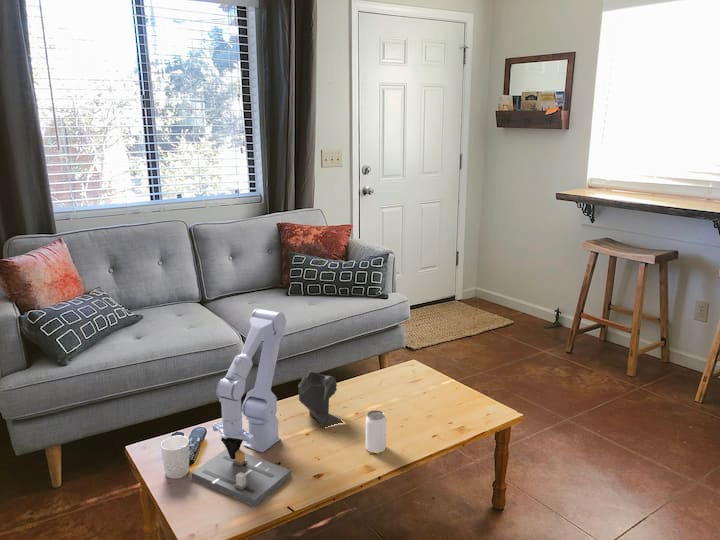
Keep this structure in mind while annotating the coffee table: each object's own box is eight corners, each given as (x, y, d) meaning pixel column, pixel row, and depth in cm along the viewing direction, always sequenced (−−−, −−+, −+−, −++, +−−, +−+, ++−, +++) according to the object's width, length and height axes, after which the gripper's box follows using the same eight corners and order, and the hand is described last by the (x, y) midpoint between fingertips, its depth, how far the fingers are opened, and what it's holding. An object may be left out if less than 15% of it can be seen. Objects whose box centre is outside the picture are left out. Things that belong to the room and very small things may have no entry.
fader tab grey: (240, 481, 167) (240, 470, 167) (248, 484, 166) (248, 473, 165) (233, 486, 165) (233, 475, 164) (242, 490, 164) (241, 479, 163)
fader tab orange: (239, 458, 178) (239, 448, 178) (247, 461, 177) (246, 451, 176) (233, 462, 176) (232, 452, 175) (241, 466, 175) (240, 455, 174)
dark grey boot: (332, 404, 217) (331, 358, 212) (346, 424, 203) (346, 376, 198) (294, 410, 212) (293, 364, 207) (306, 431, 198) (305, 382, 193)
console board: (229, 452, 186) (229, 446, 185) (290, 476, 174) (290, 470, 173) (190, 479, 172) (190, 473, 172) (253, 507, 160) (253, 500, 160)
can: (387, 444, 191) (388, 411, 188) (383, 455, 185) (383, 421, 182) (368, 441, 192) (368, 408, 189) (363, 452, 186) (363, 418, 183)
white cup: (180, 461, 181) (178, 432, 178) (196, 471, 176) (194, 441, 173) (158, 473, 175) (155, 443, 172) (173, 483, 170) (170, 453, 167)
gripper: (204, 416, 174) (206, 456, 178) (241, 429, 167) (243, 471, 171) (221, 406, 180) (223, 445, 184) (257, 418, 173) (259, 459, 176)
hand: (234, 457), depth 178 cm, fingers closed
